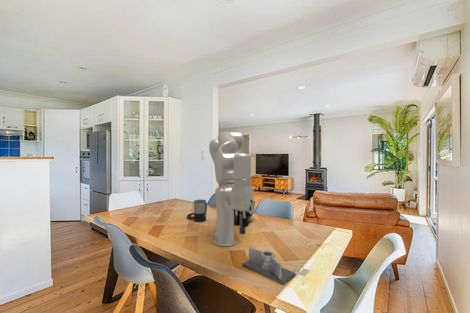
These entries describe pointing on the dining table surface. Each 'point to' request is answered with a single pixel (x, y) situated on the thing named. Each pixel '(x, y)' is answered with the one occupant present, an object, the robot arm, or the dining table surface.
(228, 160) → the robot arm
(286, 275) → the hinge stand
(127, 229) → the dining table surface
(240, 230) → the hinge pin
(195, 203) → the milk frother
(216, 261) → the dining table surface
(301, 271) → the mounting bracket
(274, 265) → the hinge leaf
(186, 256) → the dining table surface
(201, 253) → the dining table surface
